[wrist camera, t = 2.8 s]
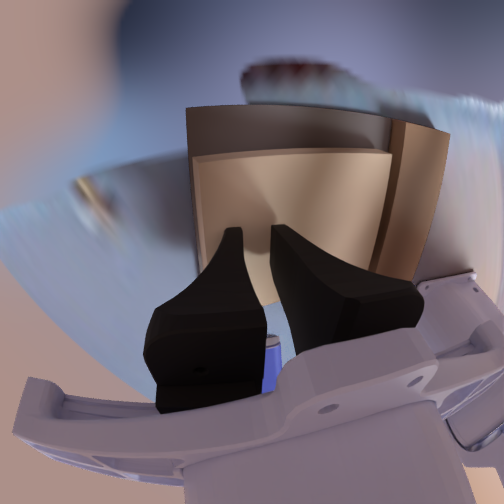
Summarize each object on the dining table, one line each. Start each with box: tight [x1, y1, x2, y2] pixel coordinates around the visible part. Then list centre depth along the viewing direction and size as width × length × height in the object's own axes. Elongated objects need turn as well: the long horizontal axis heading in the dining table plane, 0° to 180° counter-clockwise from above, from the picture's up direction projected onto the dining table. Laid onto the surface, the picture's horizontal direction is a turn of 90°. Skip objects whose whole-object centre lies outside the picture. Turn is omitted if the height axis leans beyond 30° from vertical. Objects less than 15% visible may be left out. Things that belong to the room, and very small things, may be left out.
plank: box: [192, 148, 392, 306], centre depth 14 cm, size 10×8×1 cm
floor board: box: [186, 105, 450, 282], centre depth 15 cm, size 16×12×2 cm
